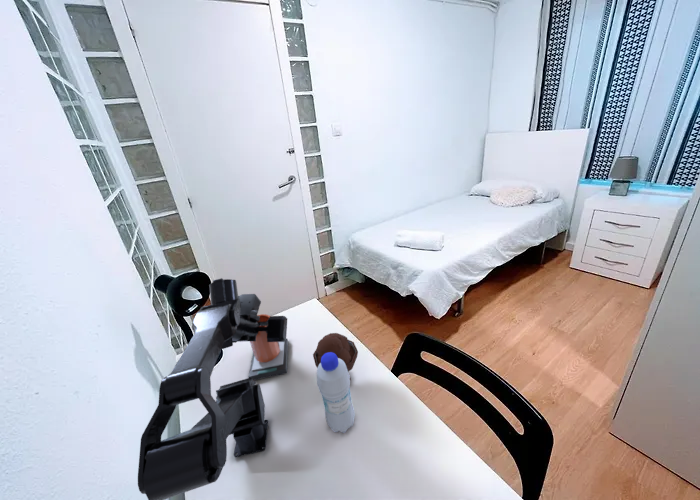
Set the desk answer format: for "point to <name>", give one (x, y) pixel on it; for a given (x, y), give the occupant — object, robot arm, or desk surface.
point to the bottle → (335, 392)
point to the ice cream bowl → (336, 349)
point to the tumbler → (264, 344)
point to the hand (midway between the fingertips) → (264, 331)
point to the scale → (270, 364)
